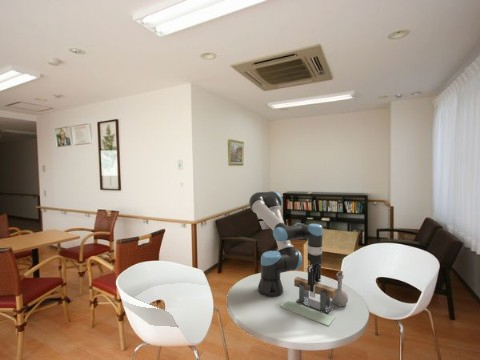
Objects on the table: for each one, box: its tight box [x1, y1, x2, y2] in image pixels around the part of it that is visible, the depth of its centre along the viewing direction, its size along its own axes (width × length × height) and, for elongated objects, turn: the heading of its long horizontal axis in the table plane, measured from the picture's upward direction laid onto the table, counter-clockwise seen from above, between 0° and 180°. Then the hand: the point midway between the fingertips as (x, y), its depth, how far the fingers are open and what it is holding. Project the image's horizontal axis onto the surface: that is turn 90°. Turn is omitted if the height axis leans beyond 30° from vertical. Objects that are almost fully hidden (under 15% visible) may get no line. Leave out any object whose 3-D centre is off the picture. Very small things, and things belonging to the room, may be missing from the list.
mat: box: [280, 299, 336, 327], centre depth 132 cm, size 26×8×1 cm, turn 50°
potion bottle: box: [331, 270, 349, 307], centre depth 141 cm, size 9×9×18 cm
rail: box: [293, 276, 337, 300], centre depth 138 cm, size 22×4×4 cm, turn 50°
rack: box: [295, 284, 334, 315], centre depth 139 cm, size 18×7×10 cm, turn 50°
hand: (314, 294), depth 139 cm, fingers closed on rail, 4 cm apart
